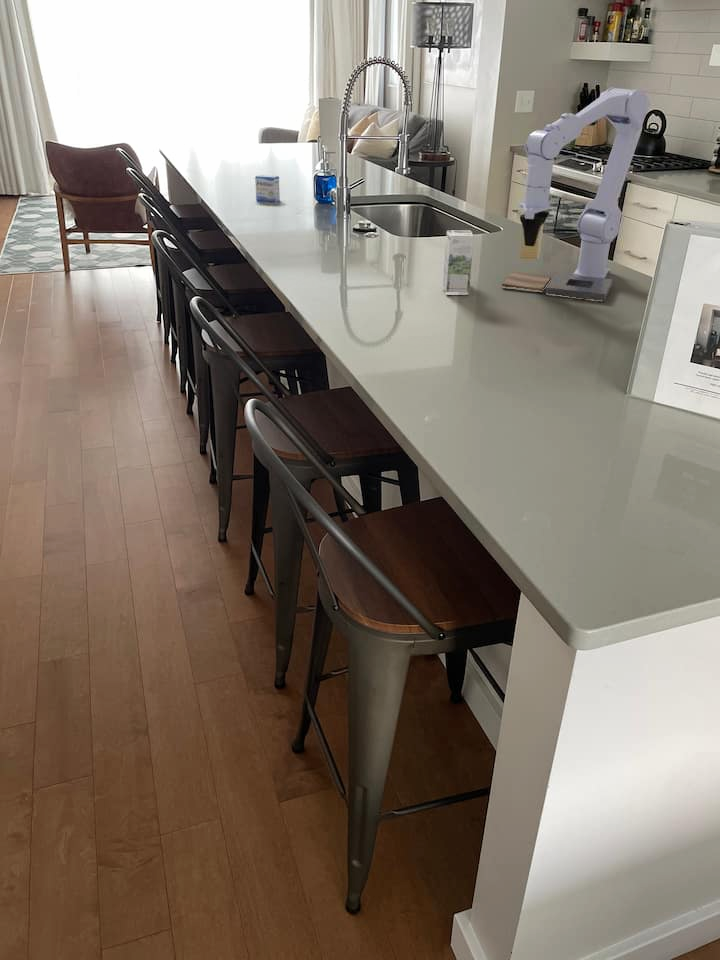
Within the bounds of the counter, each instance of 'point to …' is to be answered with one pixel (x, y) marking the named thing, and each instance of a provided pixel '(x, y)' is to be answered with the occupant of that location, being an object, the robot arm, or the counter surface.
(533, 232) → the robot arm
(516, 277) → the walnut board
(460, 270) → the syrup box
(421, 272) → the counter surface
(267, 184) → the medicine box
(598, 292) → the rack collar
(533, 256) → the brass peg
